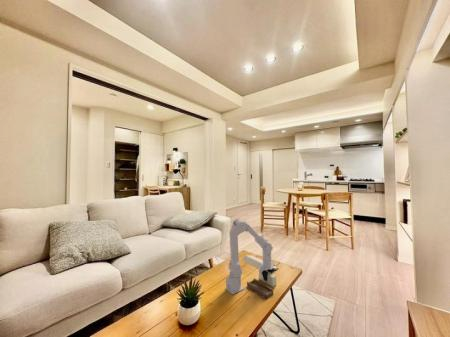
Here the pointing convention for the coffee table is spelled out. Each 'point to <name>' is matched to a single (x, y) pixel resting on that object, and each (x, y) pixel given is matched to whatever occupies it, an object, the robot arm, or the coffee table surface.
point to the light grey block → (269, 278)
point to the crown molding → (255, 261)
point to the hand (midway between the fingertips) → (267, 279)
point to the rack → (260, 288)
